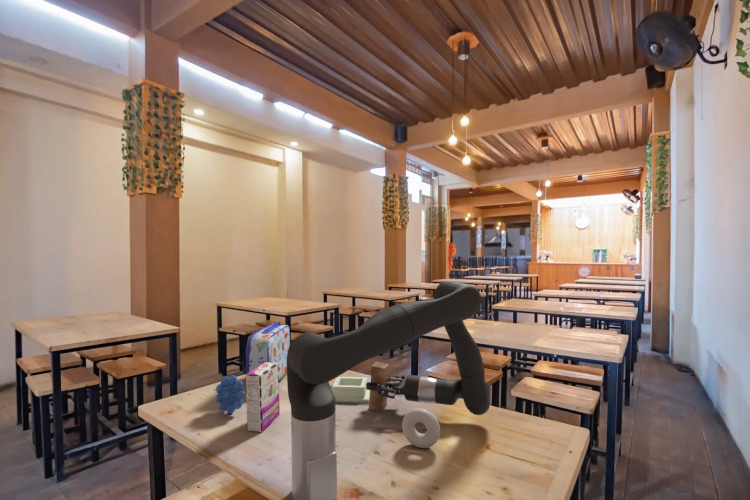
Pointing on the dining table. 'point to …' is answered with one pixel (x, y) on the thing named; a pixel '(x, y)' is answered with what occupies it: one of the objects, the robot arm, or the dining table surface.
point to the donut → (428, 420)
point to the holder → (351, 389)
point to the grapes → (230, 394)
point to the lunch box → (269, 348)
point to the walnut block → (378, 376)
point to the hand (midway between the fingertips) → (369, 383)
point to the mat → (350, 402)
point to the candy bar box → (262, 396)
